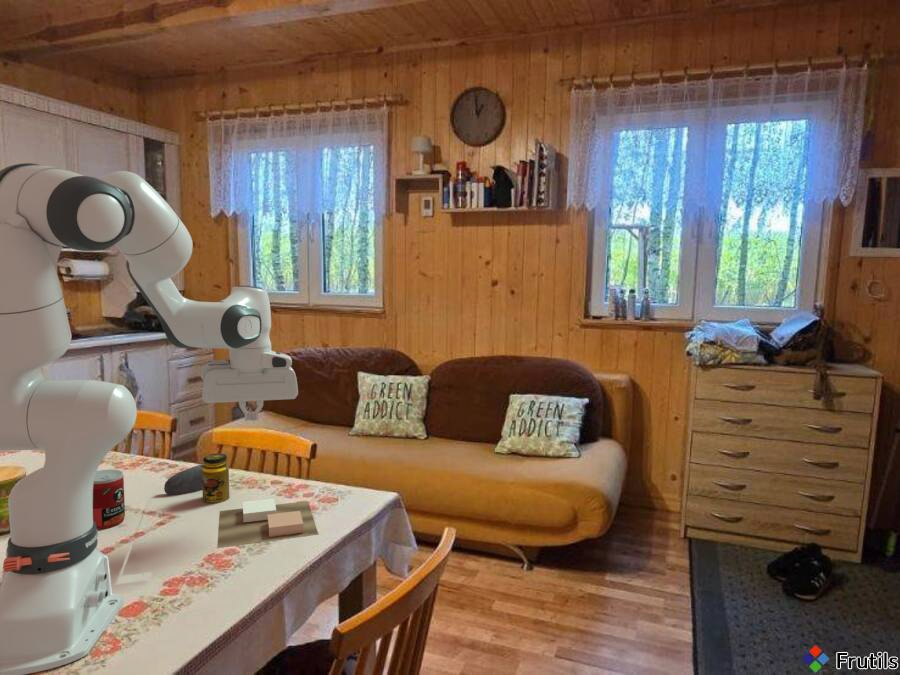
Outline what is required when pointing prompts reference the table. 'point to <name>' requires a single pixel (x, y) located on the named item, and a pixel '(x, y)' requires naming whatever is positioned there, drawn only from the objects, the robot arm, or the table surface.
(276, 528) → the terracotta tile
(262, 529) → the walnut board
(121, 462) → the table surface
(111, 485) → the canned food
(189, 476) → the perforated stone tool
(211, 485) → the condiment
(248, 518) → the cream tile
